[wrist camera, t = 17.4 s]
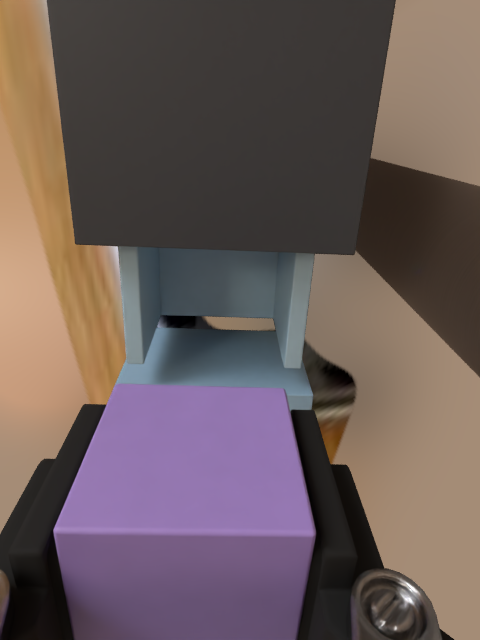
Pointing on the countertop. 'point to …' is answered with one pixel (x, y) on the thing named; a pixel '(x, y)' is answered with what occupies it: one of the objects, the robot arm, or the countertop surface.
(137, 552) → the lavender cube
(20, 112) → the countertop surface
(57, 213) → the countertop surface
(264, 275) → the drawer
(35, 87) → the countertop surface
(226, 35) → the compartment
